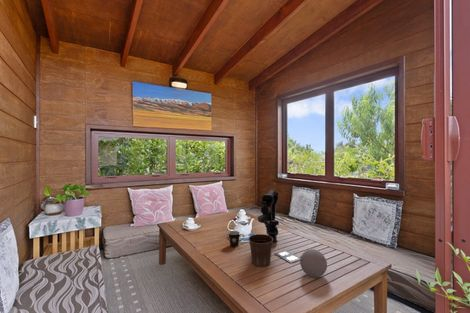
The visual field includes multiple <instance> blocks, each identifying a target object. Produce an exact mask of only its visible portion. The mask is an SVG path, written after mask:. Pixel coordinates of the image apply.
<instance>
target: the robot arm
mask: <svg viewBox="0 0 470 313" xmlns="http://www.w3.org/2000/svg"><path fill="white" fill-rule="evenodd" d="M279 194H280V193H279V192H278V191H276V189H269V190H268V192H267V193H264V194H263V195H262V197H261V205H263V206H262V207H261V209H260V212H261V215H258V217H257V220H258V222H259V223H261V224H264V226H265V228H266V235H269V236H271V237H272V238H273V241H272V244H273V243H277V242H279V240H278V239H277V236H278V235H279V229H278V226H279V224H280V221H278V220H276V215H277V214H276V212H277V211H276V210H277V205H278V203H279V200H280V195H279Z"/></svg>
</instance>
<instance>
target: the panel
mask: <svg viewBox="0 0 470 313" xmlns="http://www.w3.org/2000/svg"><path fill="white" fill-rule="evenodd" d="M274 255H275V256H277V257H279V258H280V259H282V260H284V261H285V262H287V263H289V264H293V263H296V262H300V258H301V257H299V256H297V255H295V254H293V253H291V252H289V251H288V250H286V249H285V250H282V251H279V252H274Z"/></svg>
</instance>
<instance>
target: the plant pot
mask: <svg viewBox="0 0 470 313" xmlns="http://www.w3.org/2000/svg"><path fill="white" fill-rule="evenodd" d="M248 241H249V242H248V243H249V246H250V256H251V263H252V265H254V266H255V267H260V268H263V267H268V266H270V265H271V256H272V246H273V243H272V241H273V238H272V237H271V236H269V235H268V234H263V233H262V234H260V233H257V234H252V235H250V236H249V237H248Z"/></svg>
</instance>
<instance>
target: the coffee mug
mask: <svg viewBox="0 0 470 313" xmlns="http://www.w3.org/2000/svg"><path fill="white" fill-rule="evenodd" d="M228 236H229V237H228V238H229V246H230V247H231V248H237V247H239V243H240V242H241V241H242V240H245V235H244V234H243V233H242V234H241V233H240V231H238V230H230V231H229V232H228ZM240 236H242V237H243V238H241V239H240Z"/></svg>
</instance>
